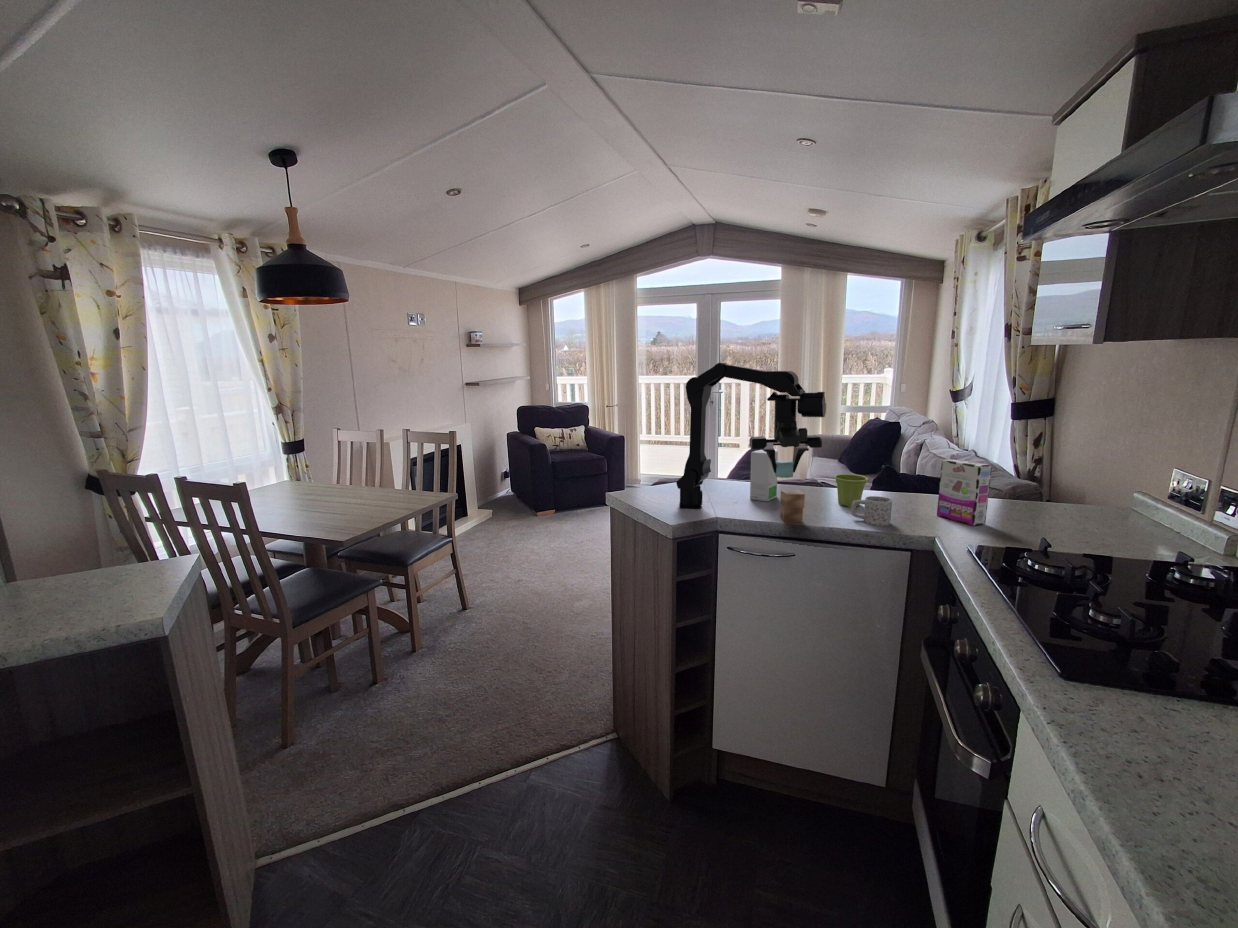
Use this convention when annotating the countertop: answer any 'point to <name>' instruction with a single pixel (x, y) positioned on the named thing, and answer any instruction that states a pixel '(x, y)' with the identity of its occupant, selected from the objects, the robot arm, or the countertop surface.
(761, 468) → the skincare box
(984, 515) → the candy bar box
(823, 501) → the countertop surface
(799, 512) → the tower base
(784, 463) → the teal block
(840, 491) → the plant pot
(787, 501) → the tan wooden block
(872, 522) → the mug
